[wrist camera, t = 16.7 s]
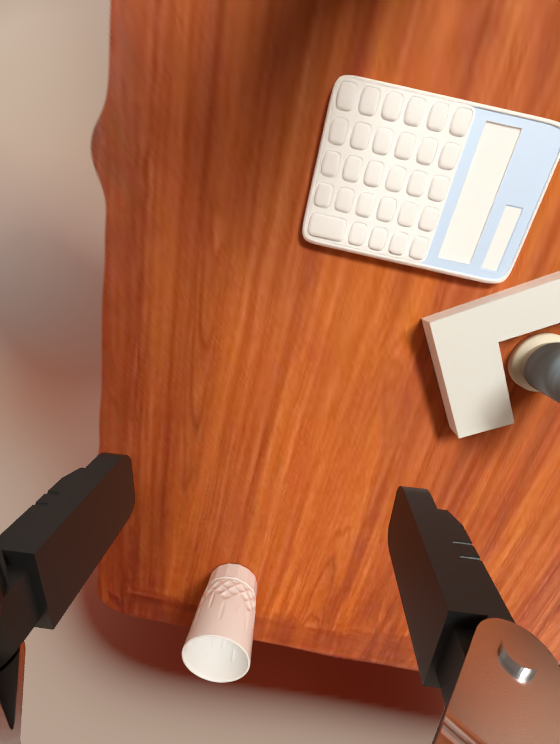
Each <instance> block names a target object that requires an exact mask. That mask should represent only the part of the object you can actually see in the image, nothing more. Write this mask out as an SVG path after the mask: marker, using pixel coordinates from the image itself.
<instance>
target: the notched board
mask: <svg viewBox="0 0 560 744" xmlns="http://www.w3.org/2000/svg"><path fill="white" fill-rule="evenodd" d="M421 319H422V323H423V327H424V331H425V335H426V339H427V342H428V346H429V350H430V354H431V358H432V362H433V365H434V369H435V373H436V377H437V381H438V384H439V388H440V392H441V396H442V400H443V404H444V407H445V411H446V415H447V419H448V423H449V427H450V428H451V429H452V431H453V432H454V433H455V434H456V435H457V437H458V438H462V437H466V436H469V435H473V434H477V433H480V432H484V431H488V430H491V429H495V428H499V427H502V426H506V425H510V424H513V423H514V419H513V414H512V409H511V404H510V399H509V394H508V389H507V384H506V379H505V374H504V369H503V364H502V359H501V353H500V348H499V343H498V342H501V341H504V340H507V339H510V338H513V337H517V336H520V335H523V334H526V333H529V332H532V331H535V330H539V329H542V328H545V327H548V326H551V325H554V324H557V323H560V271H558V272H555V273H552V274H549V275H546V276H543V277H540V278H537V279H534V280H531V281H529V282H526V283H523V284H520V285H517V286H514V287H511V288H508V289H505V290H502V291H499V292H496V293H494V294H491V295H488V296H485V297H482V298H479V299H476V300H473V301H470V302H467V303H464V304H462V305H459V306H456V307H453V308H450V309H447V310H444V311H441V312H438V313H435V314H432V315H429V316H427V317H424V318H421Z"/></svg>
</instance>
